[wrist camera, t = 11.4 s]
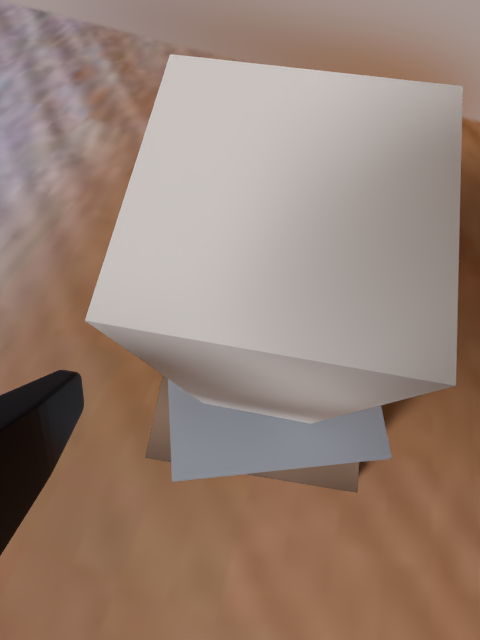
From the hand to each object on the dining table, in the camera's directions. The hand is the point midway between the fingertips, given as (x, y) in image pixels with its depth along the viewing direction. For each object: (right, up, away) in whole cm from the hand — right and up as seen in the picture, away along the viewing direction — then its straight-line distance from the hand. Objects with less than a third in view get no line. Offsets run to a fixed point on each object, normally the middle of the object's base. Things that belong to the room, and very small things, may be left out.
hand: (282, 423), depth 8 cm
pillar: (0, 0, +9) cm, 9 cm away
